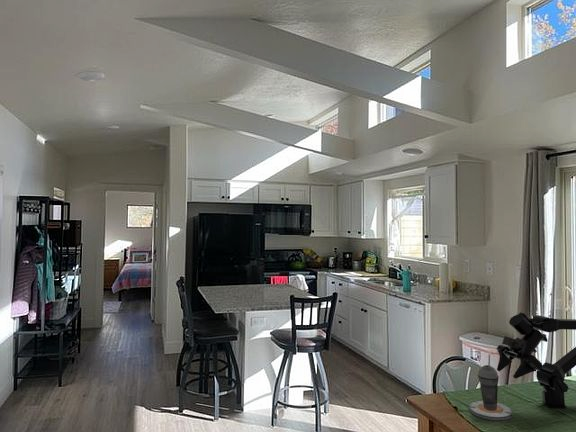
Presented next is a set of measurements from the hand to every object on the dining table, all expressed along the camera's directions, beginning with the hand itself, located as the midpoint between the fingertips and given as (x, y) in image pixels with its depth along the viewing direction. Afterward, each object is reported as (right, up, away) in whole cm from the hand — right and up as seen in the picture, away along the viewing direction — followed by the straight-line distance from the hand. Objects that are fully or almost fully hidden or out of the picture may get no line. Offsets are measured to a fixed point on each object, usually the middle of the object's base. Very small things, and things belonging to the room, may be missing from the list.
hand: (505, 374), depth 162 cm
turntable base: (-7, -14, -2) cm, 16 cm away
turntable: (-7, -14, -2) cm, 16 cm away
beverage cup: (-7, -12, -2) cm, 14 cm away
